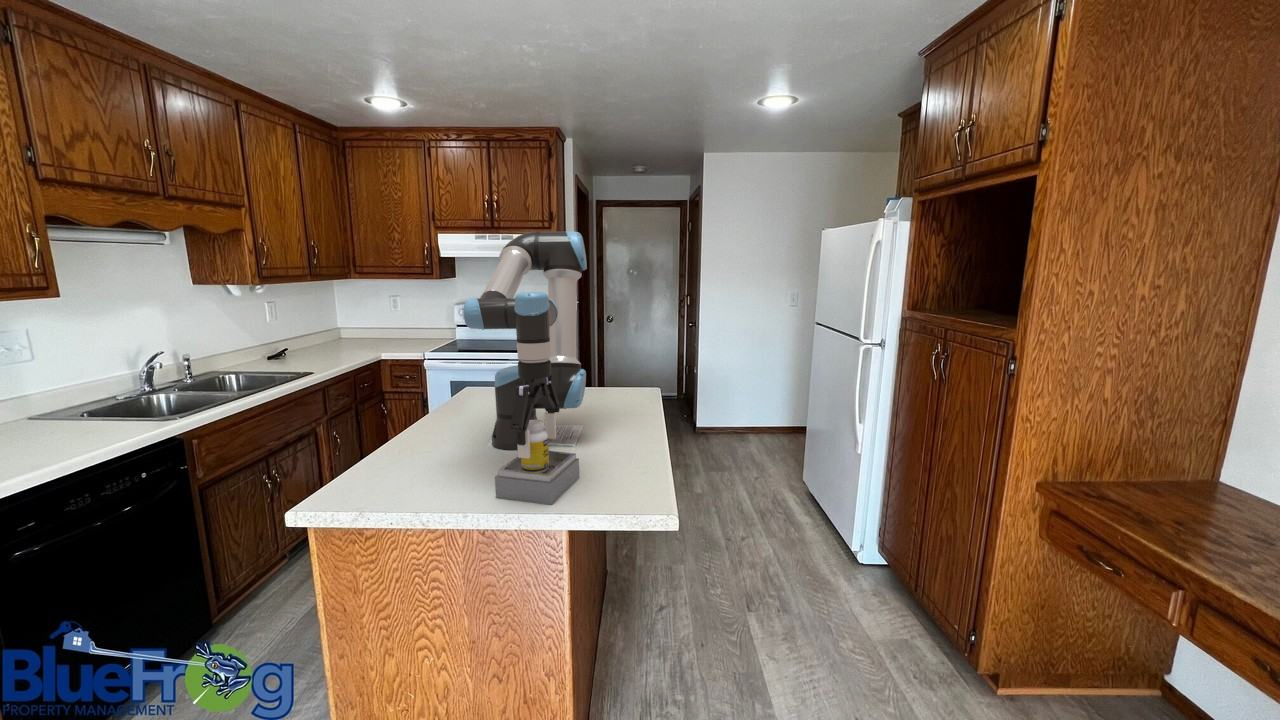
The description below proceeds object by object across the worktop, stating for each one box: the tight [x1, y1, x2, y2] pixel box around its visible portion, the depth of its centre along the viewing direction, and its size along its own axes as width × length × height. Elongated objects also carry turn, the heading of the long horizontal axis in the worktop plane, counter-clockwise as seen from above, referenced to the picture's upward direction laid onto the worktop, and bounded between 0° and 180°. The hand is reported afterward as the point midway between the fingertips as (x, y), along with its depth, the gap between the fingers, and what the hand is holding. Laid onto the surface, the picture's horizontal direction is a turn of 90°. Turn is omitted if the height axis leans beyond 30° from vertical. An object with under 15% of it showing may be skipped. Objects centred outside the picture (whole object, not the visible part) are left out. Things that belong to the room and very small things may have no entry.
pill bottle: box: [521, 419, 550, 473], centre depth 123 cm, size 6×6×12 cm
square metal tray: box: [494, 450, 580, 506], centre depth 126 cm, size 16×16×6 cm
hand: (538, 447), depth 124 cm, fingers open, 13 cm apart
